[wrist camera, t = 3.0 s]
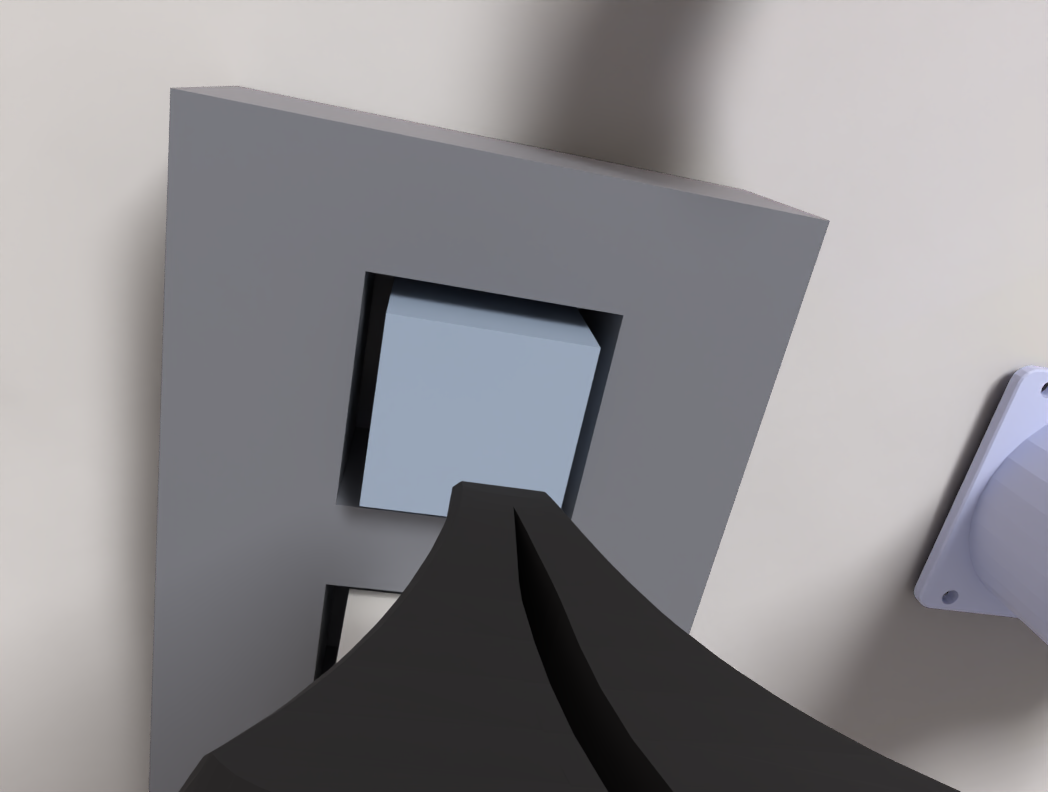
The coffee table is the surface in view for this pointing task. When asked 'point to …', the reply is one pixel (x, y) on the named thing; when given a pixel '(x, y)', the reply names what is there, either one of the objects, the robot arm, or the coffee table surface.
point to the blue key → (474, 395)
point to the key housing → (353, 361)
